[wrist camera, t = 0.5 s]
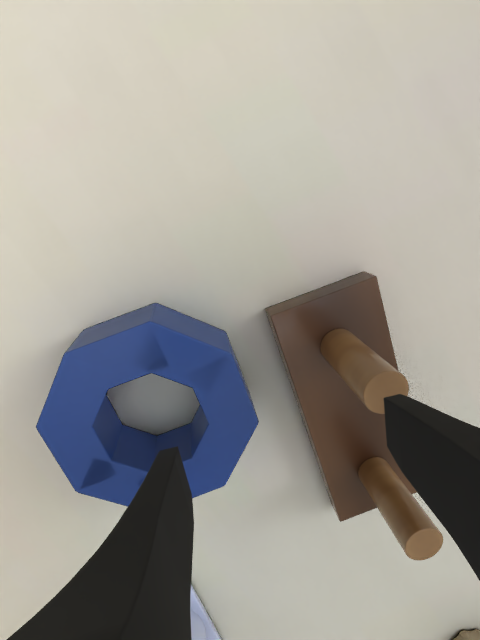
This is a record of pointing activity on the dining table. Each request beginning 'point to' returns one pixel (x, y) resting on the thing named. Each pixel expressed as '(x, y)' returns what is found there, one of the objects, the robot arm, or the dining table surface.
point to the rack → (351, 402)
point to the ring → (131, 444)
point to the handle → (468, 635)
